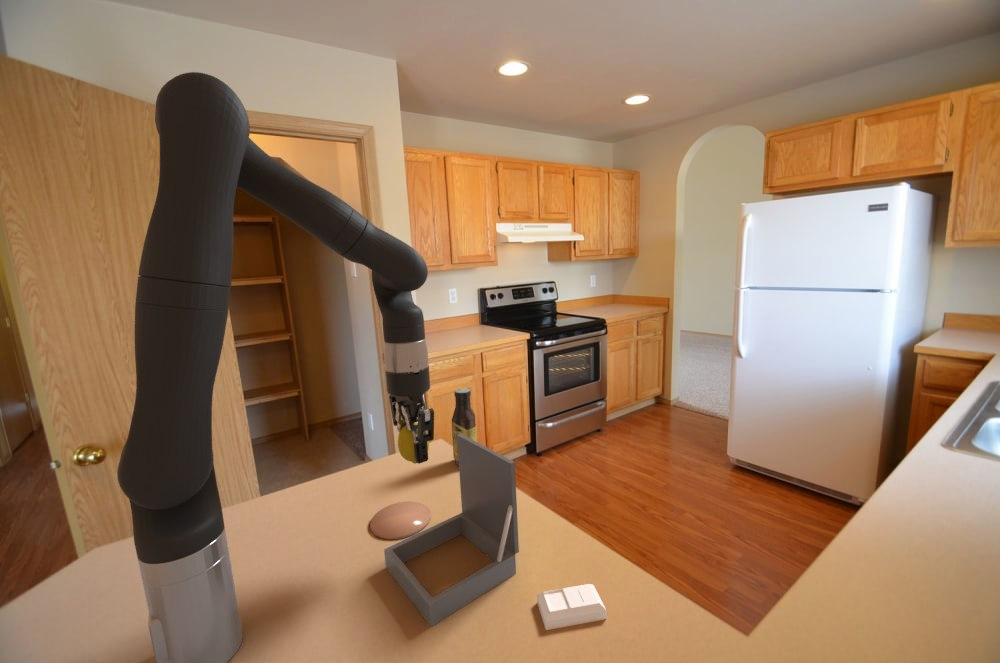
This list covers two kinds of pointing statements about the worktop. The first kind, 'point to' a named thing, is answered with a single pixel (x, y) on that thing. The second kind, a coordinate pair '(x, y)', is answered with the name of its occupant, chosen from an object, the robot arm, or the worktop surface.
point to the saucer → (400, 520)
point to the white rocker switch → (570, 606)
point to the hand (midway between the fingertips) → (414, 455)
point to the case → (467, 532)
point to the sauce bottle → (462, 419)
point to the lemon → (407, 444)
